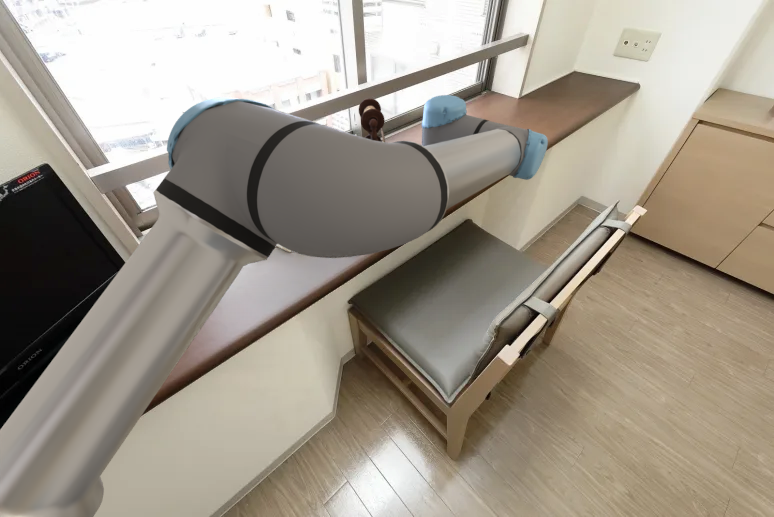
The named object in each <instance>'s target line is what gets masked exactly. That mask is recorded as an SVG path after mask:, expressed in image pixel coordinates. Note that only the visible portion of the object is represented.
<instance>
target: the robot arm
mask: <svg viewBox="0 0 774 517" xmlns="http://www.w3.org/2000/svg"><path fill="white" fill-rule="evenodd" d="M467 112H468V111H467V103H466V100H464V99H463V98H460V97H459V96H456V95H452V94H451V95H450V94H442V95H436V96H432V97H431V98H429V99H428V100H427V101H426V102H425V103H424V106H423V112H422V113H423V114H422V121H421V144H420V143H418V142H416V141H411V140H398V141H397V140H396V141H394V142H386V141H385V142H383V141H382V142H380V141H375V140H370V139H367V138H365V137H363V136H360V135H356V134H353V133H350V132H347V131H344V130H342V129H338V128H335V127H332V126H329V125H325V124H321V123H318V122H315V121H312V120H310V119H307V118H303V117H299V116H296V115H294V114H290V113H287V112H284V111H281V110H278V109H275V108H274V107H273V106H270V105H268V104H266V103H263V102H260V101H256V100H253V99H247V98H236V97H230V96H229V97H227V96H224V97H223V96H222V97H212V98H208V99H205V100H203V101H200V102H198V103H196V104H194V105H192V106H191V107H189V108H188V109H186V111H184V112H183V113H182V114H181V115H180V116H179V117H178V119H177V120H176V121H175V123H174V125H173V127H172V129H171V130H170V132H169V136H168V139H167V143H166V151H167V153H168V156H167V157H168V160H167V162H168V163H167V164H168V166H169V169H170V170H169V171H168V172H167V174H166V175H165V176H164V178H163V180H162V181H161V182H160V183H159V185H157V187H156V189H155V190H154V191H153V196H154V199H155V200H154V201H155V204H156V207H157V212H158V218H157V220H156V222H154V224H153V225H152V227H151V228H150V229H149V230H148V232H147V233H146V235H145V236H144V237H143V239H142V240H141V241H140V243H139V244H138V245H137V247H136V248H135V250H133V252H132V253H131V255H130V256H129V257H128V259H127V260H126V261H125V262H124V264H123V265H122V267H121V268H120V269H119V271H118V272H117V273H116V275H115V276H114V277H113V279H112V280H111V281H110V283H109V284H108V285H107V287H106V288H105V289H104V291H103V292H102V293H101V295H99V297H98V299H97V300H96V301H95V302H94V304H93V306H92V307H91V308H90V310H88V312H87V313H86V315H85V316H84V317H83V319H82V320H81V322H80V323H79V324H78V325H77V327H76V328H75V329H74V331H73V332H72V334H71V335H70V336H69V337H68V339H67V340H66V341H65V343H64V344H63V345H62V346H61V348H60V349H59V350H58V352H57V353H56V355H55V356H54V357H53V359H52V360H51V362H50V363H48V365H47V367H46V368H45V369H44V371H43V372H42V373H41V375H39V377H38V379H37V380H36V381H35V382H34V384H33V385H32V387H31V388H30V389H29V391H28V392H27V393H26V394H25V396H24V398H23V399H22V400H21V401H20V403H19V404H18V405H17V407H16V408H15V409H14V411H13V412H12V413H11V415H10V416H9V418H8V419H7V420H6V422H4V423H3V426H2V427H1V428H0V517H95V515H96V513H97V512H98V511H99V509H100V507H101V505H102V502H103V498H104V493H105V488H104V483H103V480H102V478H101V476H102V474H103V473H104V472H105V469H106V468H108V466H109V464H110V463H111V461H112V460H113V458H114V457H115V455H116V454H117V452H118V451H119V450H120V448H121V447H122V445H123V444H124V442H125V440H126V439H127V437H128V436H129V435H130V434H131V432H132V431H133V429H134V428H135V426H136V425H137V423H138V421H139V420H140V418H142V416H143V414H144V413H145V411H146V410H147V408H148V407H149V406H150V404H151V402H153V400H154V398H155V397H156V395H157V394H158V392H159V391H160V389H161V388H162V387H163V385H164V384H165V382H166V380H167V379H168V378H169V376H170V375H171V373H172V372H173V370H174V369H175V368H176V366H177V364H178V363H179V361H180V360H181V359H182V358H183V356H184V355H185V353H186V352H187V350H188V349H189V347H190V345H191V344H192V342H193V341H194V340H195V338H196V337H197V335H198V334H199V332H200V331H201V330H202V328H203V327H204V325H205V323H206V322H207V320H208V319H209V318H210V316H211V315H212V314H213V312H214V311H215V309H216V308H217V306H218V305H219V303H220V301H221V300H222V299H223V297H224V296H225V294H226V293H227V291H228V290H229V289H230V287H231V286H232V284H233V282H235V279H236V278H237V277H238V275H239V274H240V273H241V271H242V269H244V267H246V266H247V265H251V264H254V263H259V262H263V261H267V260H268V259H269V257H270V256H271V254H273V251H274V250H275V248H277V247H276V245H277V244H279V245H281V246H283V247H285V248H286V249H288V250H291V252H294V253H296V254H299V255H303V256H307V257H312V258H313V257H314V258H325V259H341V258H353V257H359V256H367V255H373V254H376V253H380V252H383V251H388V250H391V249H394V248H397V247H399V246H403V245H406V244H408V243H410V242H412V241H414V240H417V239H419V238H420V237H421V236H423V235H425V234H426V233H428V232H430V231H432V230H433V229H434V228H436V226H438V225H439V223H440V222H441V221H442V220H443V218H444V216H445V214H446V212H447V210H448V209H450V208H452V207H454V206H455V205H457V204H459V203H461V202H462V201H464V200H466V199H468V198H470V197H471V196H473V195H474V194H477V193H478V192H480V191H481V190H483V189H485V188H487V187H489V186H490V185H492V184H495V182H498V181H499V180H501V179H503V178H505V177H506V176H509V177H512V178H514V179H521V180H525V181H529V180H531V179H533V178H534V177H535V176H536V175H537V173H538V171H539V169H540V168H541V165H542V163H543V161H544V158H545V155H546V153H547V149H548V144H549V141H548V140H549V139H548V137H547V136H546V135H545V134H544V133H541V132H537V131H533V130H532V129H530V128H522V127H518V126H512V125H508V124H504V123H500V122H495V121H491V120H488V119H485V118H482V117H478V116H473V115H469V114H467Z"/></svg>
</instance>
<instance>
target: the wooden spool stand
mask: <svg viewBox="0 0 774 517" xmlns="http://www.w3.org/2000/svg"><path fill="white" fill-rule="evenodd" d="M358 114H359V117H360V124H361V127H362V128H363V130H364V131H366V132H367V133H368V134H367V135H366V136H365V137H364V138H367V139H370V140H375V141H380V142H386V136H385V131H384V125H385V120H386V119H385V116H384V114H383V112H382V107H381V104H380V102H379V101H378V100H377V99H374V98H371V97H370V98H365V99H364V100H362V101H361V102H360V104H359V106H358ZM379 132H380V134H381V137H380V136H379V135H378V133H379Z"/></svg>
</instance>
